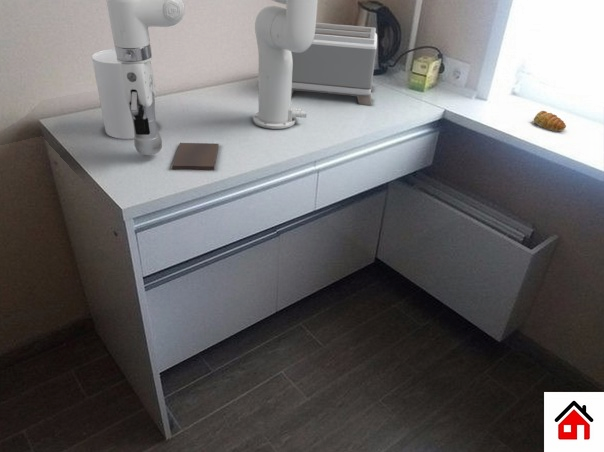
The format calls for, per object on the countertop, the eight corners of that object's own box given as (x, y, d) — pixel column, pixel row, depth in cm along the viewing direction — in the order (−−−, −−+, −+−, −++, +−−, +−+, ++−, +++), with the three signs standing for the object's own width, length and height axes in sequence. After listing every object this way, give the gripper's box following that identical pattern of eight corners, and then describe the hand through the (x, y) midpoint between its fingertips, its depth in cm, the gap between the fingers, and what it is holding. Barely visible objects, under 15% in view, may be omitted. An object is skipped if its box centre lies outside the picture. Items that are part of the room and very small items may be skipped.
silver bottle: (168, 150, 124) (158, 71, 113) (148, 161, 119) (135, 79, 108) (150, 144, 127) (138, 66, 115) (130, 153, 122) (115, 73, 111)
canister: (157, 136, 134) (148, 62, 123) (104, 140, 131) (90, 64, 119) (155, 117, 145) (146, 47, 134) (106, 120, 141) (93, 49, 130)
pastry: (569, 130, 153) (573, 118, 151) (555, 134, 150) (559, 122, 148) (543, 119, 160) (547, 108, 157) (529, 123, 157) (533, 111, 154)
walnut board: (218, 146, 131) (218, 143, 130) (214, 170, 120) (213, 166, 120) (180, 146, 130) (180, 142, 130) (172, 169, 120) (172, 165, 119)
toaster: (279, 77, 181) (280, 18, 170) (372, 86, 178) (380, 27, 167) (268, 95, 165) (269, 31, 154) (371, 105, 162) (379, 41, 151)
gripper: (142, 64, 102) (155, 144, 113) (158, 42, 116) (167, 115, 127) (105, 64, 102) (121, 144, 112) (125, 41, 116) (137, 114, 126)
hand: (145, 128), depth 119 cm, fingers closed on silver bottle, 5 cm apart
